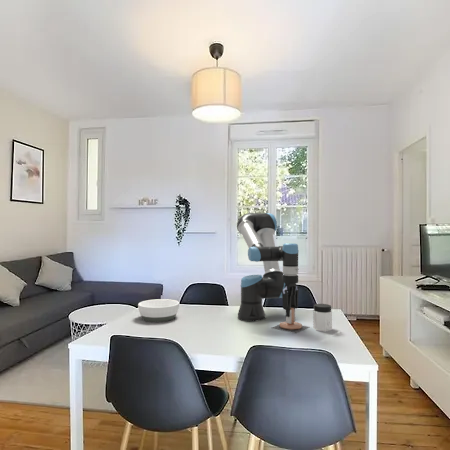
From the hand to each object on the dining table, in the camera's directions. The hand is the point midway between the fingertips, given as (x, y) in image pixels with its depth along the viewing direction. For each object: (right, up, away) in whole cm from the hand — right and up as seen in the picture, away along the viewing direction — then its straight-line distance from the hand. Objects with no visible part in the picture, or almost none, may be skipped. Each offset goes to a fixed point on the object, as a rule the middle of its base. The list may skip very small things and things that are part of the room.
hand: (290, 322), depth 177 cm
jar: (+15, -3, -3) cm, 16 cm away
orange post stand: (0, -2, 0) cm, 2 cm away
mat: (0, -3, 0) cm, 3 cm away
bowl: (-69, -4, +21) cm, 72 cm away
